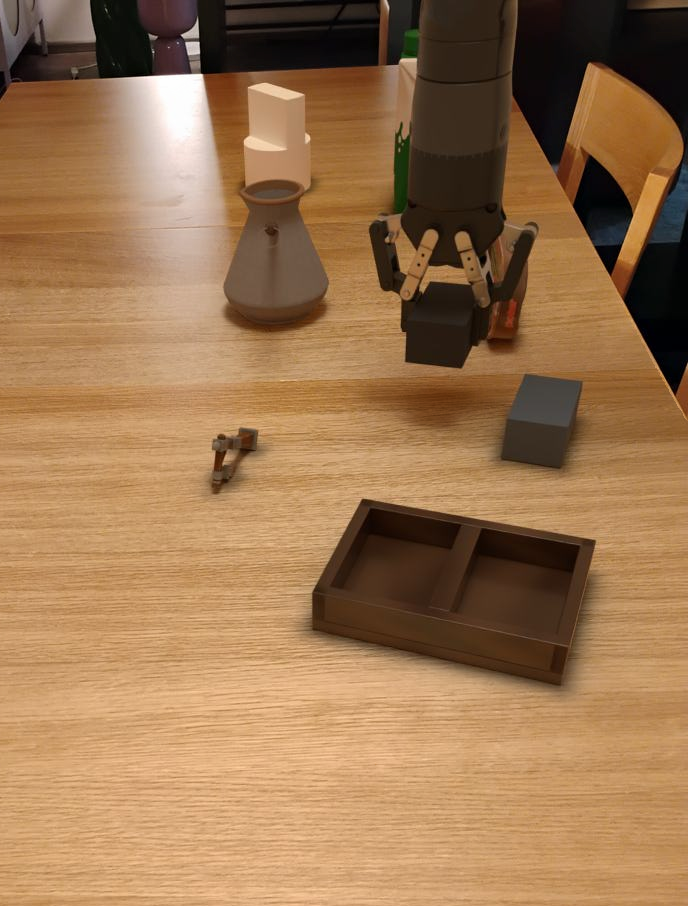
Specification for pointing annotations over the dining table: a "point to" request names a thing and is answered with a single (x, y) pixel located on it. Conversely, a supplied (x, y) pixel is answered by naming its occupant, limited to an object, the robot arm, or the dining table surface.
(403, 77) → the milk carton
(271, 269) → the coffee pot
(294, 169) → the cylinder with rectangular tab
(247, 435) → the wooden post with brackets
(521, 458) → the pad
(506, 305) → the tin
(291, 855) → the dining table surface
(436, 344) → the dark brown rectangular block
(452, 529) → the divided wooden tray
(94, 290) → the dining table surface
